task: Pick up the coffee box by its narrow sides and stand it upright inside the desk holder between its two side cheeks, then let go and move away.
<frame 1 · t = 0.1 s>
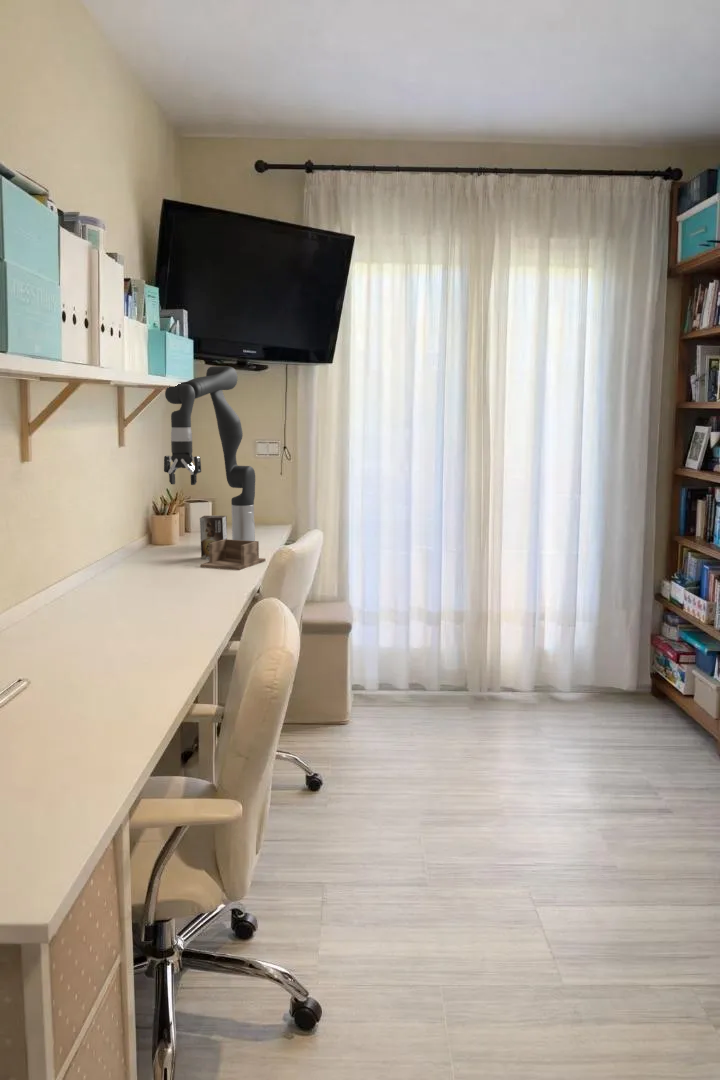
hand: (183, 484, 328), 29 cm above the table, fingers open, 8 cm apart
holder: (233, 564, 330), on the table
coffee box: (214, 558, 344), on the table
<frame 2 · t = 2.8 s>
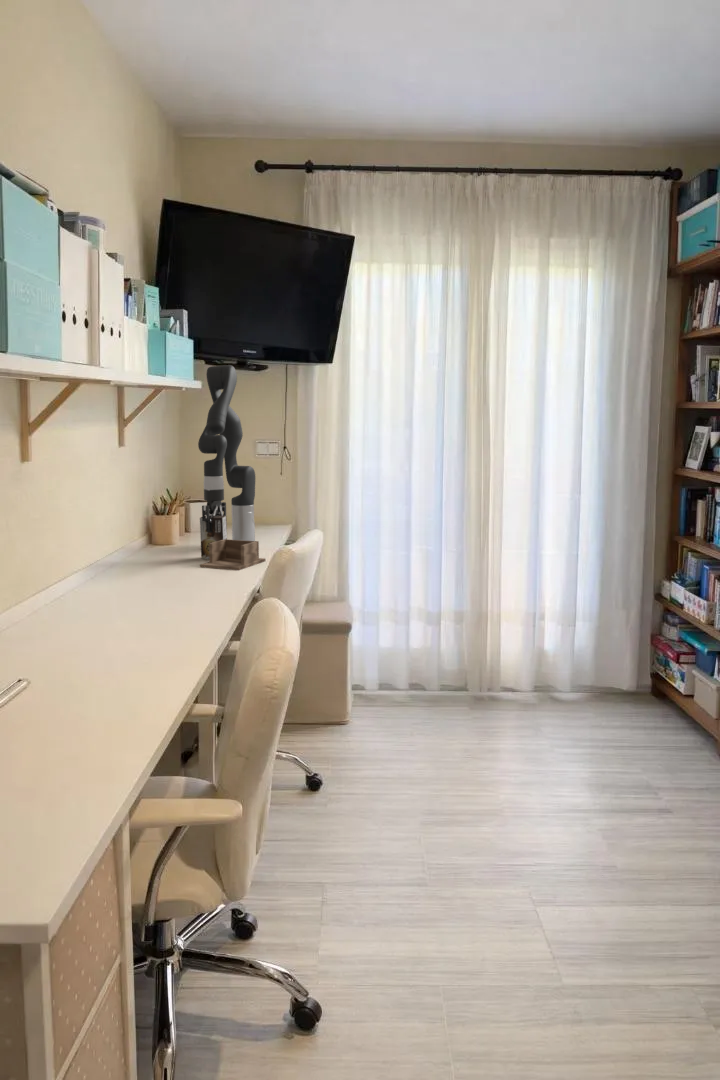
hand: (214, 530, 342), 10 cm above the table, fingers closed on coffee box, 7 cm apart
coffee box: (214, 558, 344), on the table, touching gripper
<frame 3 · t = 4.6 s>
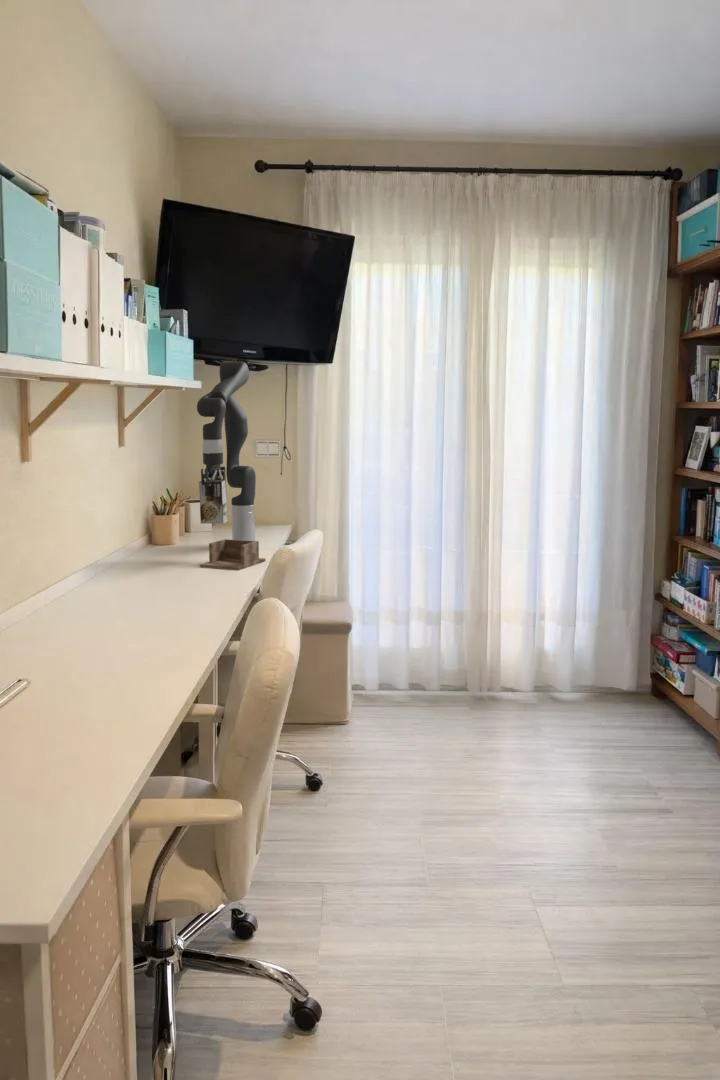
hand: (214, 495, 340), 24 cm above the table, fingers closed on coffee box, 7 cm apart
coffee box: (213, 523, 342), point 13 cm above the table, touching gripper
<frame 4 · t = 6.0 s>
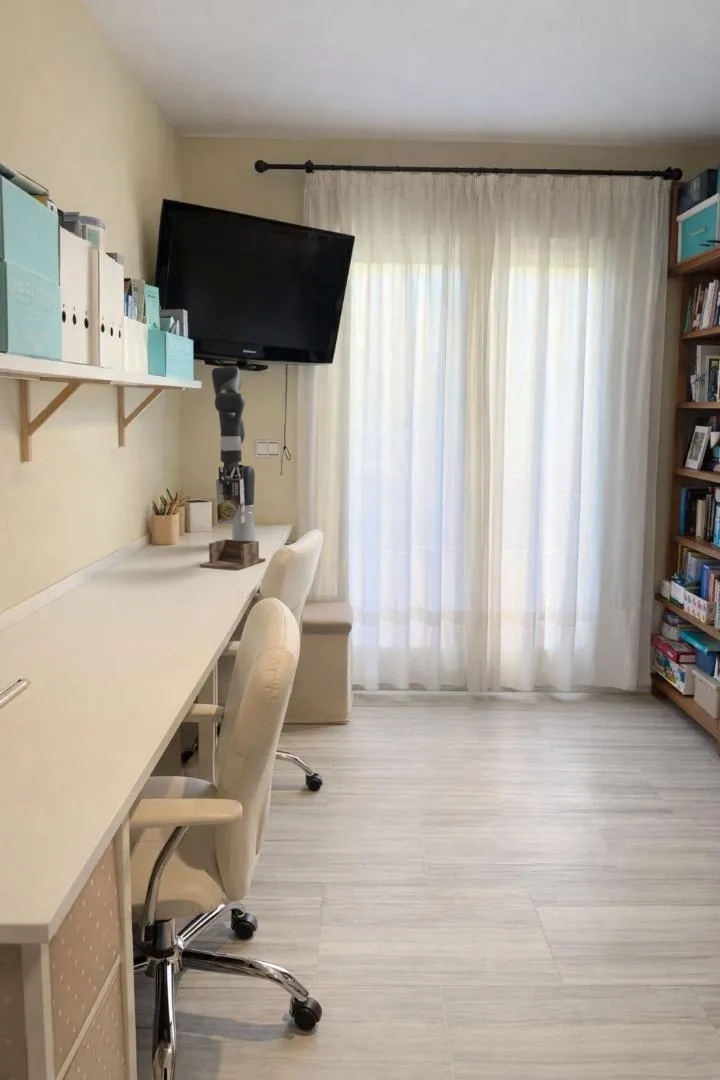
hand: (231, 494, 327), 26 cm above the table, fingers closed on coffee box, 7 cm apart
coffee box: (231, 523, 328), point 15 cm above the table, touching gripper
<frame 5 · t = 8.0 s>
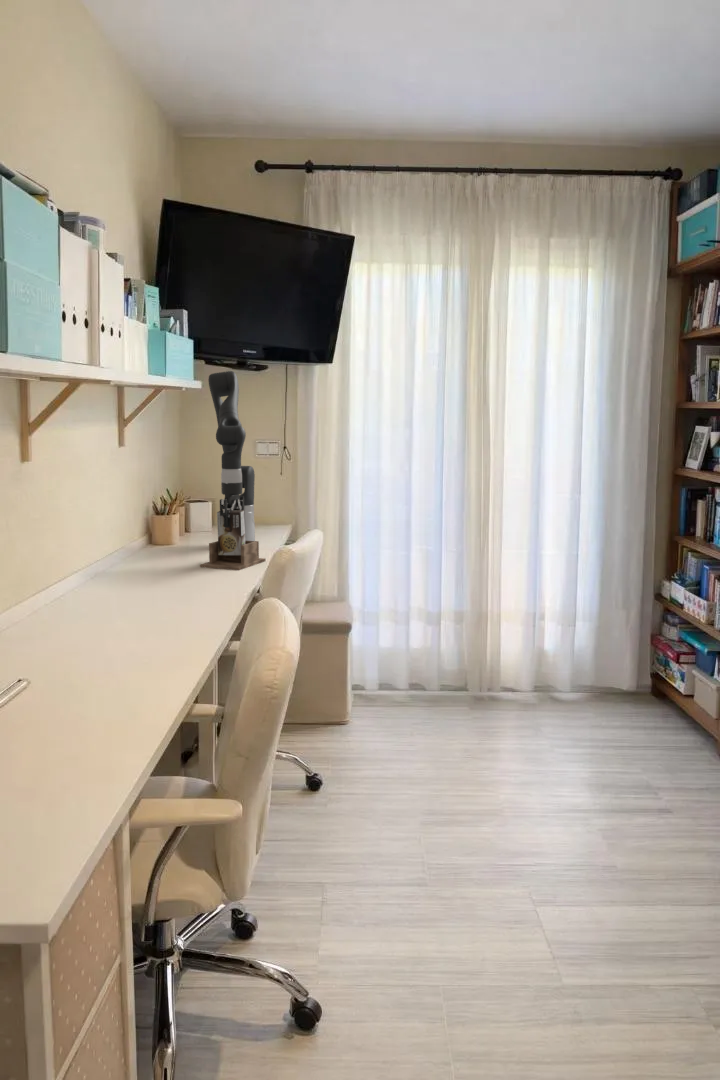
hand: (232, 525, 328), 14 cm above the table, fingers closed on coffee box, 7 cm apart
coffee box: (232, 554, 330), point 3 cm above the table, touching gripper
when the fingers open (13 cm above the table, at t = 9.4 s): coffee box drops 1 cm, resting on holder.
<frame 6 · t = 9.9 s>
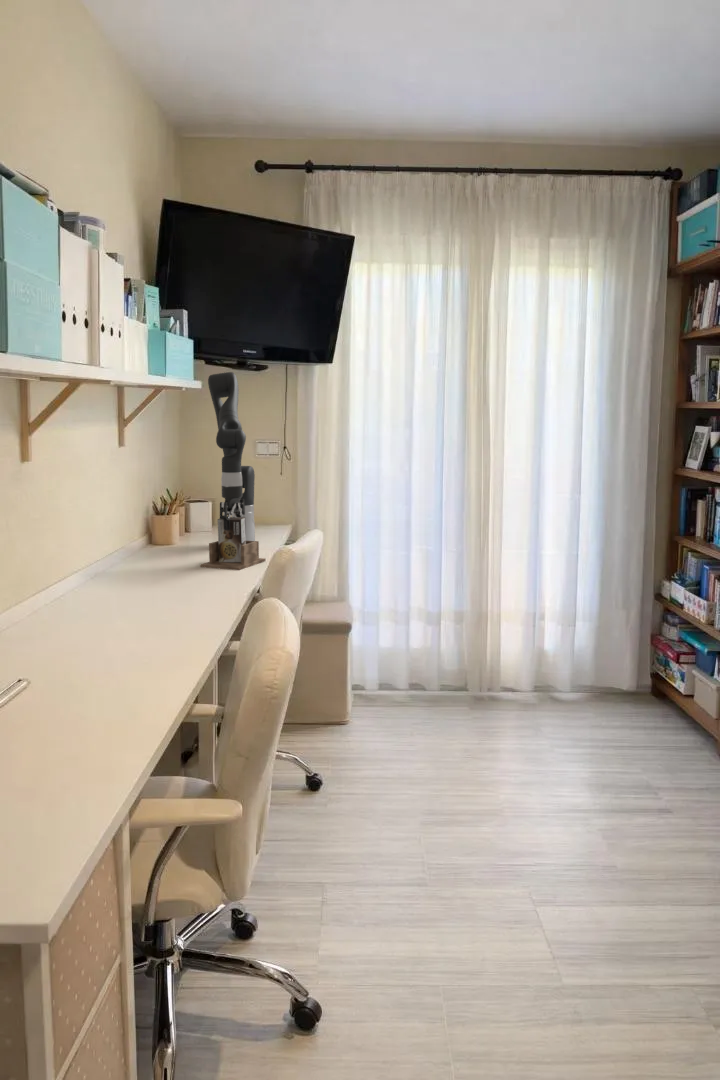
hand: (232, 528, 329), 13 cm above the table, fingers open, 8 cm apart
coffee box: (232, 561, 331), point 1 cm above the table, touching holder
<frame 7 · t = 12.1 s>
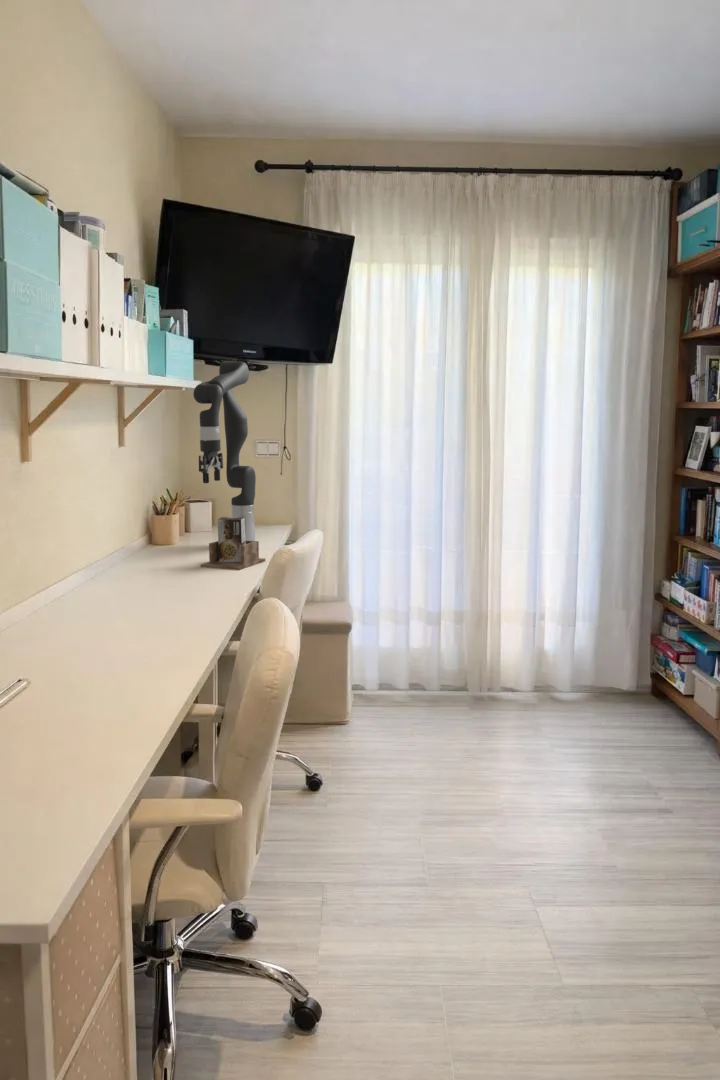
hand: (211, 481, 338), 29 cm above the table, fingers open, 8 cm apart
nothing on the table moved.
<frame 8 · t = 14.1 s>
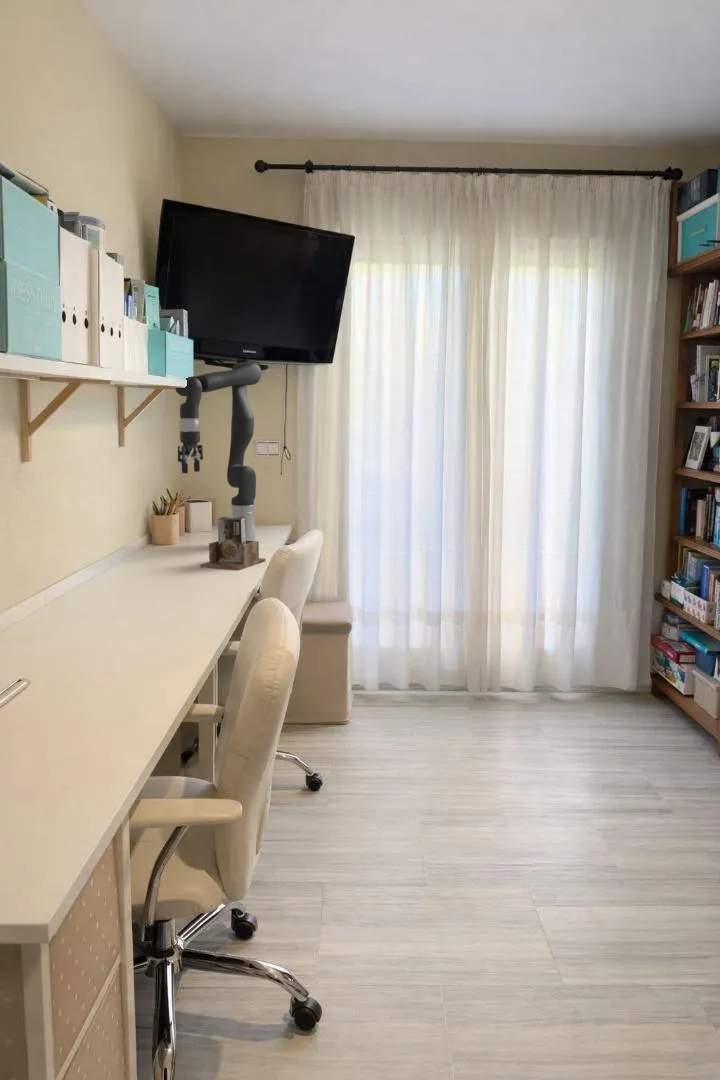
hand: (191, 472, 348), 32 cm above the table, fingers open, 8 cm apart
nothing on the table moved.
at the end: coffee box 0.5 cm off-centre on the holder, point 0.8 cm above the holder's base; coffee box tilted 0°; the gripper is holding nothing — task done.
